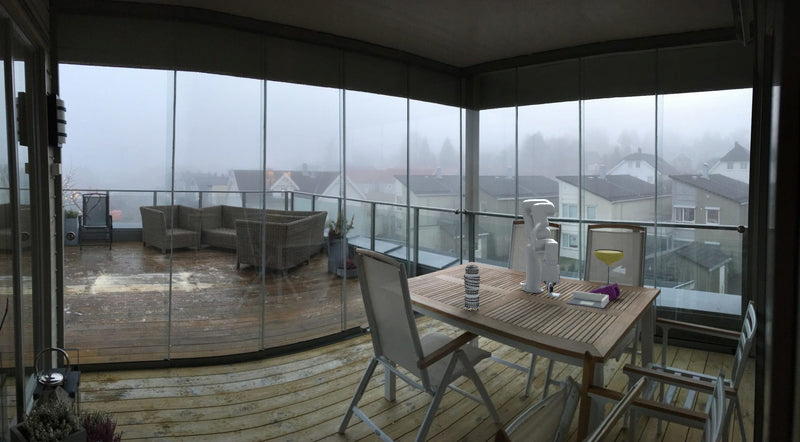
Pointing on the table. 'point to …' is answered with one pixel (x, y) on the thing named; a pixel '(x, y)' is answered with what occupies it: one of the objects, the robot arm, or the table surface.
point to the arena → (589, 299)
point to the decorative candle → (471, 286)
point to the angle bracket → (552, 293)
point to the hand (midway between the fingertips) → (550, 292)
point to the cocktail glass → (608, 257)
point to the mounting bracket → (608, 291)
